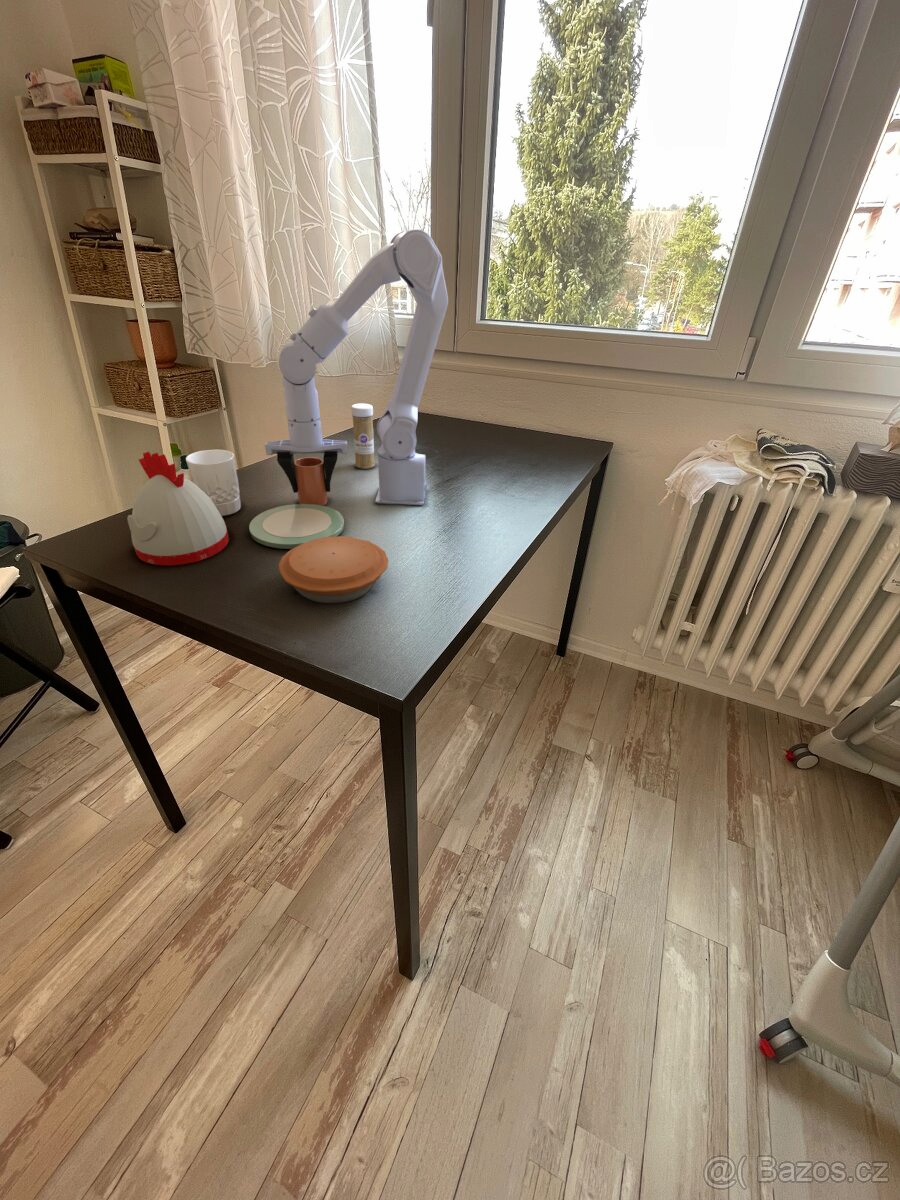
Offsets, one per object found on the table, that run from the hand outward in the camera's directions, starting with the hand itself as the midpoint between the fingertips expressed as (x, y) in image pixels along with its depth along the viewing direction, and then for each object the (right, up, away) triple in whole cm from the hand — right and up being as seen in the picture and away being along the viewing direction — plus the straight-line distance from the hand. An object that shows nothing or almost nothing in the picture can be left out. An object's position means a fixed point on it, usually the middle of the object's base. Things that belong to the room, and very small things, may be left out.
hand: (312, 490), depth 98 cm
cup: (0, -2, +1) cm, 2 cm away
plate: (0, -9, -9) cm, 12 cm away
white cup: (-16, -4, -3) cm, 17 cm away
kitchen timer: (-17, -12, -15) cm, 26 cm away
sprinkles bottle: (+7, +9, +19) cm, 22 cm away
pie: (+10, -19, -22) cm, 31 cm away
